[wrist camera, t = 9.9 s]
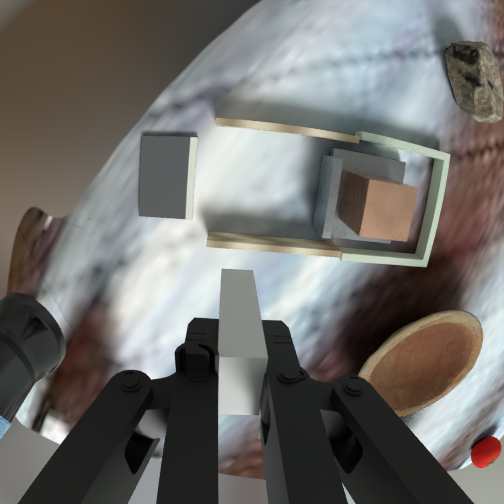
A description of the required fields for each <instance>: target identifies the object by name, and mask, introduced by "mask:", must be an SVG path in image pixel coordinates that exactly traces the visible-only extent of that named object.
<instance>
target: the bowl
mask: <svg viewBox="0 0 504 504" xmlns="http://www.w3.org/2000/svg"><path fill="white" fill-rule="evenodd" d="M482 342H483V330H482V327H481V324H480V322H479V320H478V319H477V318H476V317H475V316H474V315H473V314H471V313H469V312H466V311H462V310H447V311H441V312H438V313H434V314H431V315H429V316H426V317H424V318H421V319H419V320H417V321H414V322H412V323H410V324H408V325H406V326H404V327H402V328H400V329H399V330H397V331H396V332H394V333H393V334H392V335H391V336H390V337H389V338H388V339H386V340H385V341H384V343H383V344H382V345H381V346H380V347H379V349H378V350H377V351H376V352H375V353H373V354H372V355H371V356H370V357H369V358H368V359H367V361H366V362H365V364H364V365H363V367H362V368H361V370H360V372H359V374H358V376H359V377H362V378H364V379H365V380H367V381H368V382H369V383H370V384H371V385H372V386H373V387H374V389H375V390H376V391H377V392H378V393H379V394H380V395H381V397H382V398H383V399H384V400H385V401H386V402H387V403H388V405H389V406H390V407H391V408H392V409H393V410H394V412H395V413H396V414H397V415H398V416H399V417H402V416H406V415H409V414H412V413H415V412H416V411H418V410H421V409H423V408H425V407H427V406H429V405H431V404H433V403H435V402H436V401H438V400H439V399H441V398H442V397H444V396H445V395H447V394H448V393H449V392H450V391H452V390H453V389H454V388H455V387H456V386H457V385H458V384H459V383H460V382H461V381H462V380H463V379H464V378H465V376H466V375H467V374H468V373H469V372H470V370H472V368H473V367H474V365H475V362H476V360H477V358H478V356H479V354H480V350H481V347H482Z"/></svg>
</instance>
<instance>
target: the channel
mask: <svg viewBox="0 0 504 504" xmlns="http://www.w3.org/2000/svg"><path fill="white" fill-rule="evenodd" d="M216 125H217V126H222V127H235V128H247V129H257V130H266V131H275V132H283V133H291V134H298V135H305V136H312V137H318V138H325V139H331V140H336V141H342V142H347V143H357V144H359V140H360V137H358V136H353V135H348V134H342V133H337V132H331V131H326V130H320V129H313V128H307V127H300V126H293V125H286V124H278V123H269V122H260V121H250V120H239V119H227V118H216ZM207 247H215V248H227V249H240V250H253V251H265V252H278V253H290V254H302V255H315V256H327V257H340V255H341V250H340V249H339V248H338V247H337V246H336V245H335V243H334V242H328V241H318V240H307V239H296V238H284V237H273V236H261V235H249V234H237V233H224V232H212V231H209V235H208V238H207Z"/></svg>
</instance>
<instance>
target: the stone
mask: <svg viewBox="0 0 504 504" xmlns="http://www.w3.org/2000/svg"><path fill="white" fill-rule="evenodd" d="M445 57H446V62H447V66H448V75H449V79H450V82H451V86H452V88H453V91H454V96H455V98H456V101H457V103H458V105H459V107H460V109H461V110H462V111H463V112H465V113H466V114H467V115H469V116H471V117H472V118H473V119H474V120H476V121H478V122H481V121H482V122H489V123H493V122H497V121H499V120H500V119H501V118H502V105H503V101H504V97H503V87H502V84H501V78H500V74H499V68H498V63H497V60H496V58H495V57H494V56H493V54H492V53H491V49H490V47H489V45H487V44H485V43H483V42H472V41H461V42H458V43H452V44H451V45H450V47H449V48H446V52H445Z"/></svg>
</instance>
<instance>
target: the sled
mask: <svg viewBox="0 0 504 504" xmlns="http://www.w3.org/2000/svg"><path fill="white" fill-rule="evenodd" d="M405 165H406V162H401V161H397V160H393V159H388V158H384V157H379V156H374V155H369V154H364V153H359V152H354V151H348V150H342V149H337V148H331V154H330V156H329V155H323V154H322V162H321V169H320V176H319V184H318V191H317V198H316V204H315V211H314V218H313V224H312V226H313V227H314V228H315V230H316V231H317V232H318V233H319V235H320V236H321V237H322V238H329V239H331V238H340V239H350V240H360V241H369V242H379V243H388V244H390V243H391V240H396V241H404V242H407V239H408V235H409V230H410V226H411V221H412V217H413V212H414V207H415V202H416V197H417V191H418V188H415V187H412V186H409V185H407V184H404V183H403V178H404V172H405Z"/></svg>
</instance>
